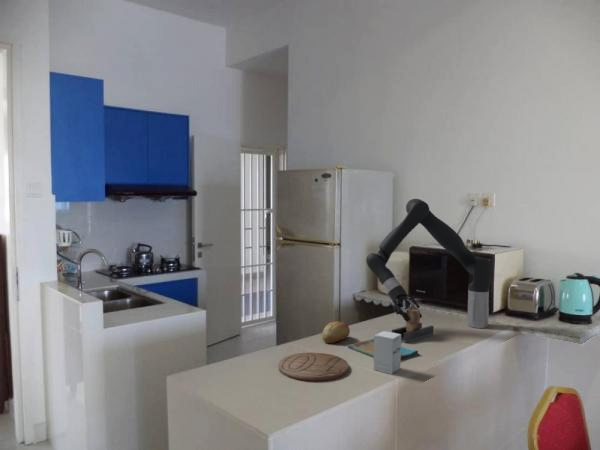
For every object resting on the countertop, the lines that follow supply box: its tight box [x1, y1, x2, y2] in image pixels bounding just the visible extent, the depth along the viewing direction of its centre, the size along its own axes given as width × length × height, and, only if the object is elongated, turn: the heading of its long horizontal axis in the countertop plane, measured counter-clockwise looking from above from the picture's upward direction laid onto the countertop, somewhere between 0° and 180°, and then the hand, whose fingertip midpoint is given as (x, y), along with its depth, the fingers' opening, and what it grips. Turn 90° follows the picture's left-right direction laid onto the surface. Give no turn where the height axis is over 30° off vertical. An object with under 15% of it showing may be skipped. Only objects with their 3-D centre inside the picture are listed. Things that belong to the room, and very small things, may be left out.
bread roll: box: [321, 321, 351, 344], centre depth 201 cm, size 10×15×8 cm, turn 140°
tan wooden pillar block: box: [405, 308, 421, 332], centre depth 207 cm, size 5×4×11 cm
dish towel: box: [347, 338, 420, 361], centre depth 187 cm, size 17×23×2 cm
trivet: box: [278, 352, 349, 383], centre depth 167 cm, size 25×25×2 cm
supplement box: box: [373, 330, 402, 375], centre depth 167 cm, size 7×7×13 cm
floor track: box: [391, 322, 435, 344], centre depth 207 cm, size 20×8×4 cm, turn 129°
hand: (414, 319), depth 206 cm, fingers open, 8 cm apart
